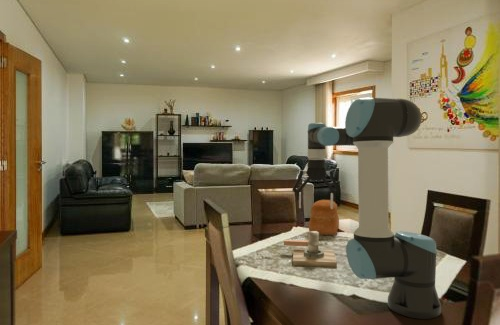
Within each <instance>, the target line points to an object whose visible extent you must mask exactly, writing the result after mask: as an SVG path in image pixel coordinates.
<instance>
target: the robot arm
mask: <svg viewBox="0 0 500 325" xmlns="http://www.w3.org/2000/svg"><path fill="white" fill-rule="evenodd" d="M422 118H423V117H422V113H421V110H420V108H419V107H418V106H417V105H416V104H415V102H413V101H411V100H409V99H404V98H388V97H387V98H386V97H373V96H371V97H362V98H361V97H360V98H357V99H355V100H353V102H352V103H351V104H350V106H349V108H348V109H347V112H346V116H345V122H344V127H343V126H327V125H326V124H325V123H323V122H311V123H308V125H307V158H308V160H307V167H306V168H307V169H306V170H302V169H300V171H299V176H298V178H297V180H296V181H295V184H294V186H292V187H293V188H292V192H294V193H296V195H295V196H296V201H298V208H299V209H302V205H301V203H302V192H301V191H302V190H303V189H304V187H305V186H306V185H307V184H308V183H309V182H310V181H311V182H312V181H313V182H315V181H318V182H321V181H323V183H324V184H325V186H327V188H328V189H329V190H330V191H331V193H330V200H331V209H333V201H334V202H336V197H337V195H336V194H337V193H341V190H340V188H339V185H338V183H337V181H336V179H335V177H334V173H333V170H332V169H331V170H326V160H325V159H326V147H332V146H333V147H335V146H337V147H339V146H341V147H342V146H343V147H344V146H353V147H356V148H357V151H358V152H357V153H358V154H357V158H358V159H357V162H358V163H357V164H358V165H357V166H358V173H357V174H358V176H357V177H358V178H357V180H358V183H357V184H358V185H357V186H358V189H357V190H358V227H357V228H356V229H355V230H354V231H353V238H352V239H349V240H347V243H346V246H345V247H346V248H345V254H346V258H347V262H348V265H349V267H350V270H351V271H352V273H353V274H354V275H355V277H356V278H358V279H363V280H375V279H391V278H393V279H394V280H393V283H392V286H391V288H390V291H389V292H388V293H389V294H388V296H387V306H388V308H389V309H390V310H392V311H393V312H394V313H396V314H399V315H401V316H404V317H408V318H413V319H417V320H418V319H421V320H430V319H435V318H438V317H439V316H440V315H441V314H442V312H441V311H442V306H441V301H440V298H439V296H438V292H437V289H436V273H437V272H436V270H437V269H436V267H437V254H438V251H437V242H436V240H435V239H434V238H432V237H430V236H427V235H425V234H420V233H417V232H411V231H404V230H403V231H402V230H401V231H396V232H395V233H394V232H393V231H392V230H391V229H390V226H389V222H390V221H389V147H391V145H392V144H394V138H402V137H408V136H411V135H413V134H414V133H416V132H417V131H418V129H419V128H420V126H421V125H422V120H423V119H422ZM305 174H306V175H307V178H306V179H305V180H304V181H303V182H302V184H301V185H300V186H299V184H300V182H301V180H302V178H303V176H305ZM326 175H327V176H328V177H329V178H330V179H331V182H332V184H333V186H334V188H335V189H334V188H333V187H332V185H331V184H330V183H329V182H328V180H327V179H326V177H325V176H326ZM298 186H299V187H298ZM297 187H298V188H297Z"/></svg>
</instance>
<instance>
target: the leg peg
mask: <svg viewBox="0 0 500 325" xmlns="http://www.w3.org/2000/svg"><path fill="white" fill-rule="evenodd" d="M307 241H308V246H307V247H308V248H307V249H308V253H313V254H318V251H319V249H320V248H319V232H317V231H309V230H308V240H307Z"/></svg>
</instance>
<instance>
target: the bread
mask: <svg viewBox="0 0 500 325" xmlns="http://www.w3.org/2000/svg"><path fill="white" fill-rule="evenodd" d="M338 210H339V209H338V204H337V203H336V201H333V209H331V199H320V200H317V201H315V202H313V204H312V206H311V210H310V213H311V216H310V218H309V222H308V232H309V231H317V232H319V235H320V236H333V235H334V236H335V235H336V234H337V233H338V229H339V227H340V221H339V220H340V218H339V214H338Z"/></svg>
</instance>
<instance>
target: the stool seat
mask: <svg viewBox="0 0 500 325" xmlns="http://www.w3.org/2000/svg"><path fill="white" fill-rule="evenodd" d="M292 253H293V255H292V265H293V266H302V267H303V266H307V267H326V268H337V267H338V261H337V258H336V254H335V250H334V249H320V248H319V251H318V254H313V253H308V248H293V252H292Z"/></svg>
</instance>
